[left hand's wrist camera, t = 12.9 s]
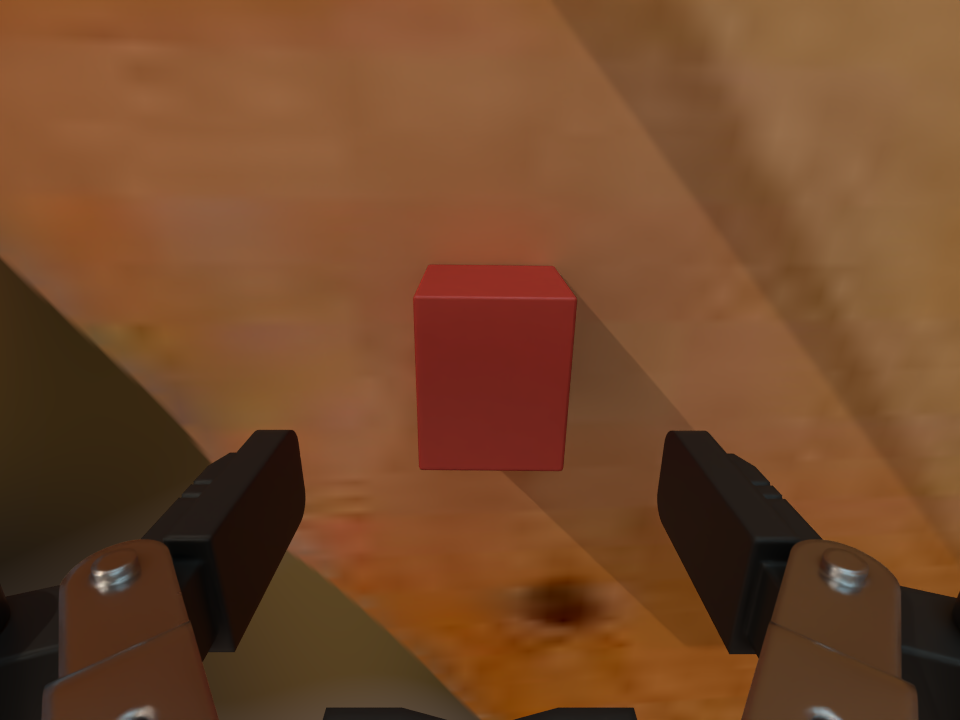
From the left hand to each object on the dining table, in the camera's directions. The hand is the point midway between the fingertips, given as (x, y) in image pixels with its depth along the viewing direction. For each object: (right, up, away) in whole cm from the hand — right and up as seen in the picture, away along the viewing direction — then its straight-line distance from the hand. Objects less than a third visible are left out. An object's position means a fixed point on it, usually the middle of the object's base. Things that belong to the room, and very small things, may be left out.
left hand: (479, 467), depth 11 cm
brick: (0, +3, +6) cm, 7 cm away
